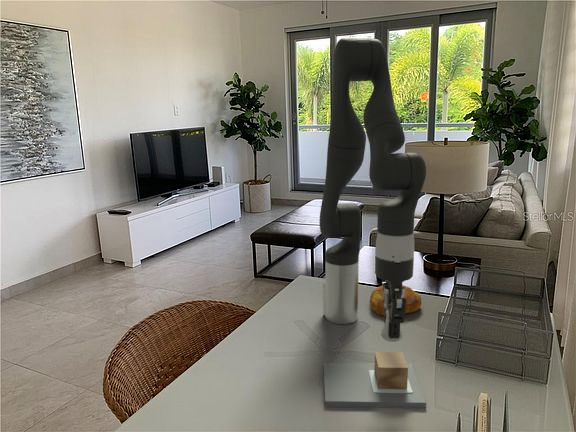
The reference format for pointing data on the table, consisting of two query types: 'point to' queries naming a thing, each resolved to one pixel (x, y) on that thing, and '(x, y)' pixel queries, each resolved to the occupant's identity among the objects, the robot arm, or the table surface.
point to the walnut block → (390, 370)
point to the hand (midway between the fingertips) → (391, 331)
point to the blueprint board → (367, 388)
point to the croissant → (411, 297)
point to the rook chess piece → (385, 330)
